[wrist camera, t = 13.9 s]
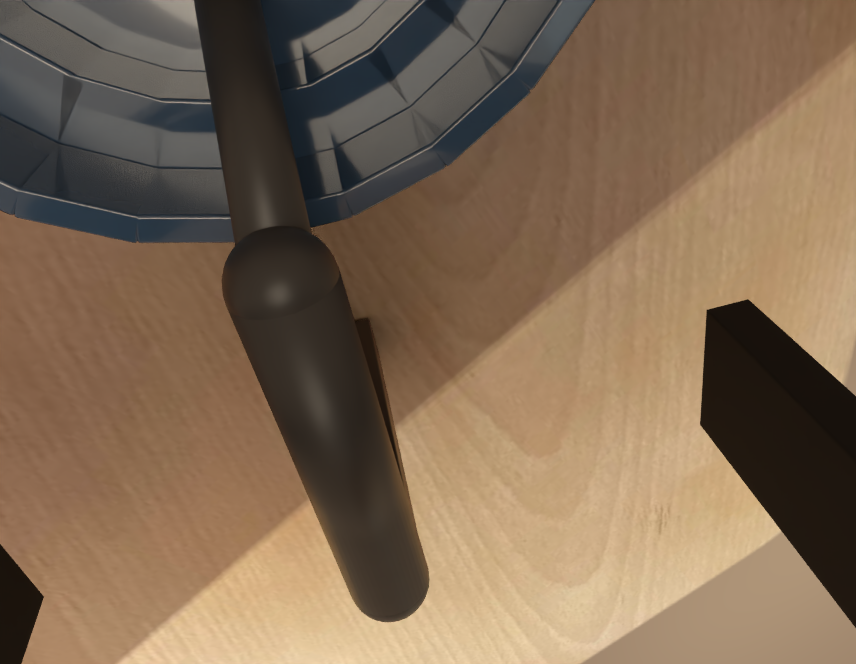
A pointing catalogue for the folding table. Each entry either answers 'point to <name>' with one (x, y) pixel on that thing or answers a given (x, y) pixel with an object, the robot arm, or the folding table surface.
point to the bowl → (300, 90)
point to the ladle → (307, 327)
